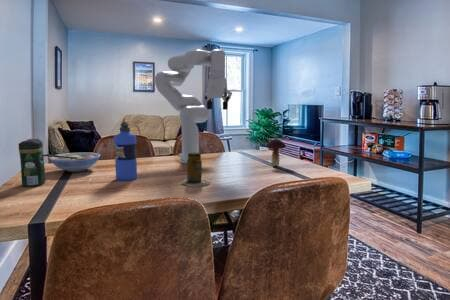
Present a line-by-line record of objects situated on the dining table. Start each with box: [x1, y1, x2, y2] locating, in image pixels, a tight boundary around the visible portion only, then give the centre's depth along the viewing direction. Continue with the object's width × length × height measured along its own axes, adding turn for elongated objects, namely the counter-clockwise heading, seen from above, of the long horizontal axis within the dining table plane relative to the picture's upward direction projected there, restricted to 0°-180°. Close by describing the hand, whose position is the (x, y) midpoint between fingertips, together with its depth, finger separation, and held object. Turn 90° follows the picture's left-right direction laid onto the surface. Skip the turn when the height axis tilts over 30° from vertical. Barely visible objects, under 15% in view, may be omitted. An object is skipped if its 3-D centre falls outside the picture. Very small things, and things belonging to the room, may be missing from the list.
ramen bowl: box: [43, 152, 101, 173], centre depth 159 cm, size 25×23×8 cm
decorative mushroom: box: [265, 138, 287, 167], centre depth 173 cm, size 11×11×15 cm
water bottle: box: [113, 121, 138, 182], centre depth 143 cm, size 9×9×25 cm
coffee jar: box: [18, 138, 47, 188], centre depth 132 cm, size 10×8×19 cm
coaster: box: [181, 178, 211, 188], centre depth 137 cm, size 12×12×1 cm
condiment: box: [183, 152, 207, 184], centre depth 136 cm, size 7×8×12 cm
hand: (217, 109), depth 167 cm, fingers open, 9 cm apart
